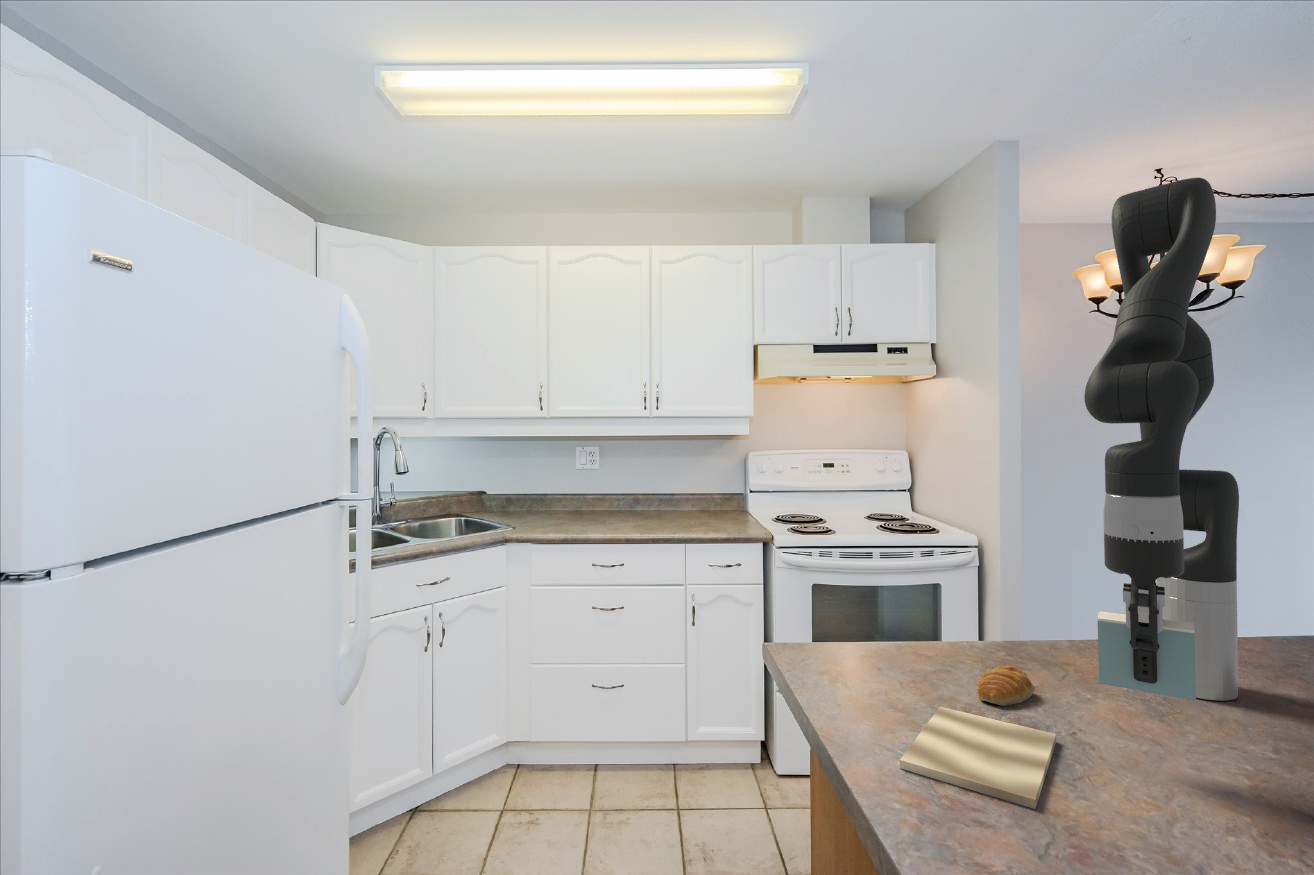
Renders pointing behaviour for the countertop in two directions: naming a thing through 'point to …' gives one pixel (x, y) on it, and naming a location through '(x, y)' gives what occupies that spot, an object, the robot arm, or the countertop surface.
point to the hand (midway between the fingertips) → (1145, 674)
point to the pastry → (1005, 686)
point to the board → (982, 755)
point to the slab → (1171, 657)
